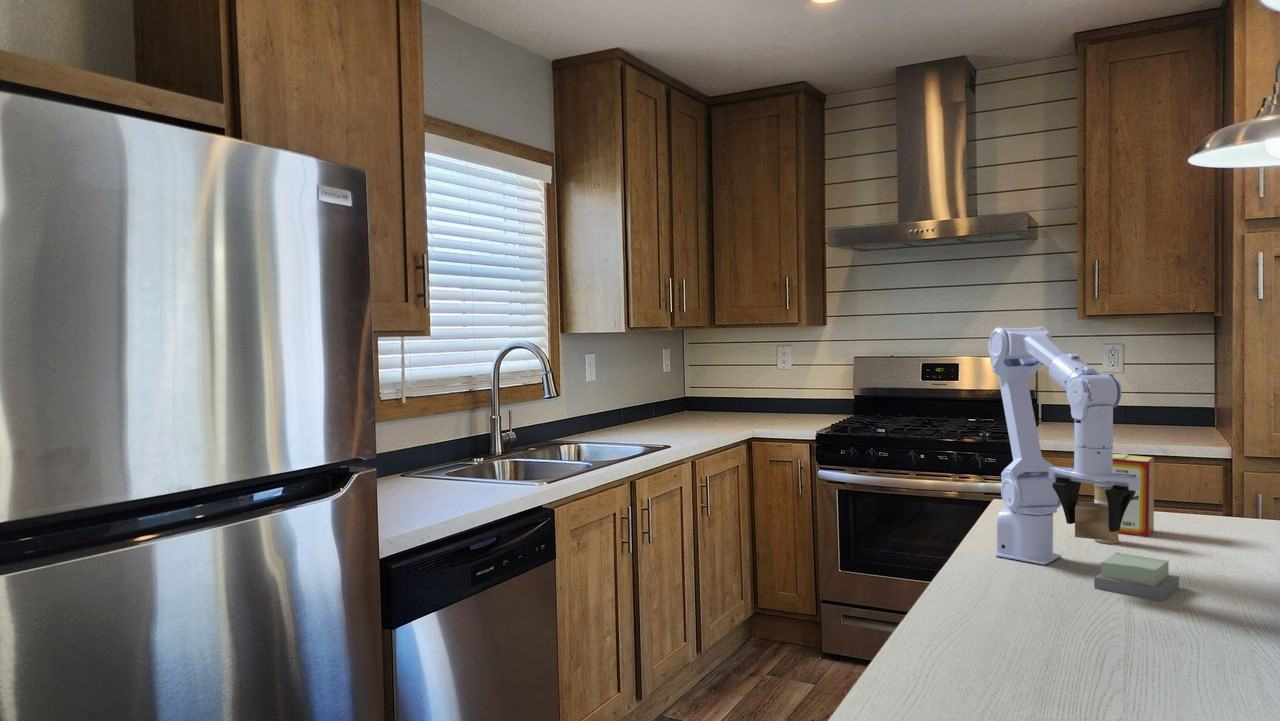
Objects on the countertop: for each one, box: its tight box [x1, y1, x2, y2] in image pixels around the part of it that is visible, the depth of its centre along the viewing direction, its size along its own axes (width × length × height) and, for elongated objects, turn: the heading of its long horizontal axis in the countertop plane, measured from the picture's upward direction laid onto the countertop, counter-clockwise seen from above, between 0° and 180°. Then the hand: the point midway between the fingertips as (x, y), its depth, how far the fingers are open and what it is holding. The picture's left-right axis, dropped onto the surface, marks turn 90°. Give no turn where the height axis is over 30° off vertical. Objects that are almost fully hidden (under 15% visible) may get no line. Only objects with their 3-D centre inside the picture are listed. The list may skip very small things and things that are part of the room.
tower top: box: [1100, 552, 1170, 586], centre depth 150 cm, size 8×8×2 cm
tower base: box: [1093, 573, 1180, 602], centre depth 149 cm, size 10×10×2 cm
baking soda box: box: [1112, 453, 1155, 538], centre depth 188 cm, size 10×6×16 cm
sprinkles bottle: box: [1093, 480, 1120, 545], centre depth 179 cm, size 5×5×13 cm
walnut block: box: [1074, 501, 1110, 540], centre depth 149 cm, size 5×5×5 cm
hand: (1092, 526), depth 149 cm, fingers closed on walnut block, 7 cm apart
